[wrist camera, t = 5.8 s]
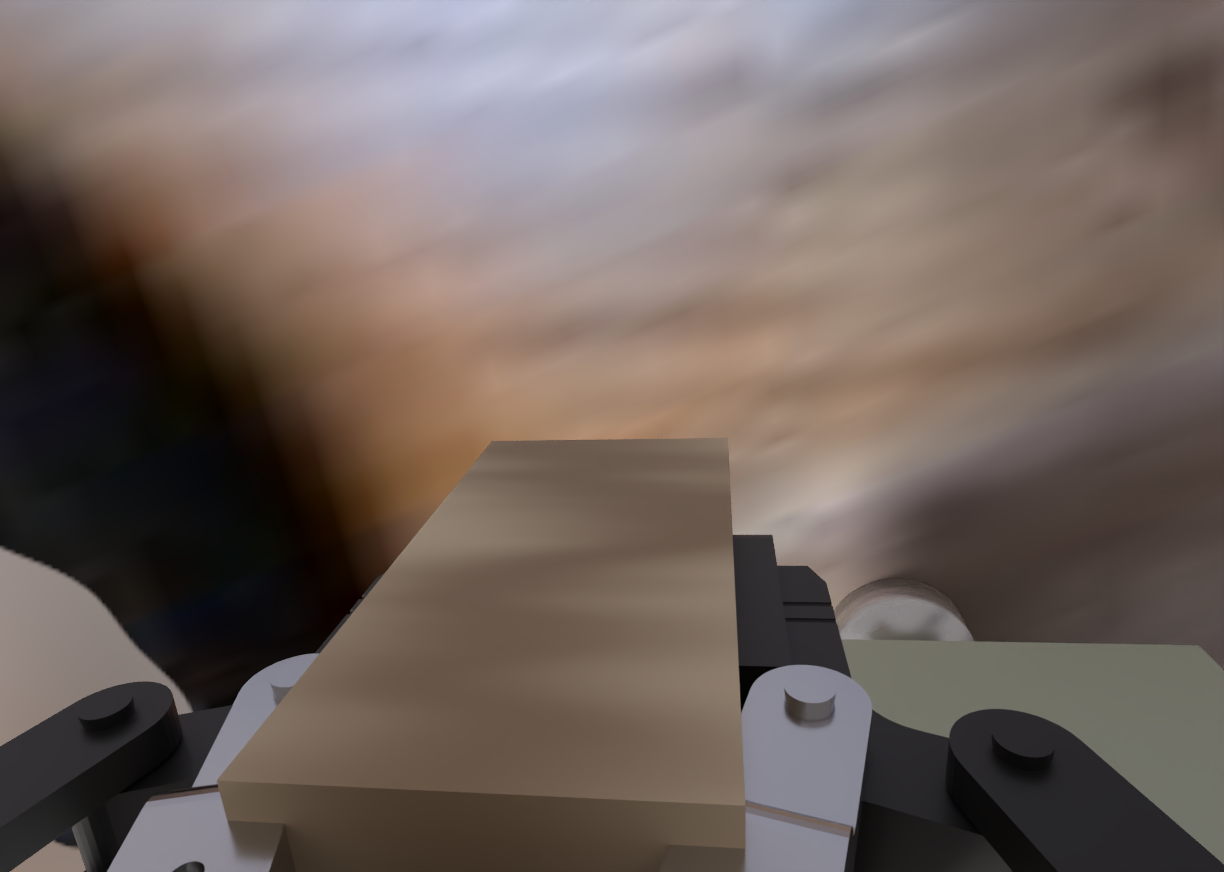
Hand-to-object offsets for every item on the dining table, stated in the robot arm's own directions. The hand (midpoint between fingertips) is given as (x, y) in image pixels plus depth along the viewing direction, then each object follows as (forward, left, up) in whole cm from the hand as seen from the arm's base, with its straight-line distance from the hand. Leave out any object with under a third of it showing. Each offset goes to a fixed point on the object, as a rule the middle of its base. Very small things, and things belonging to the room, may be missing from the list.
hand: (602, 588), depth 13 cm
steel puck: (-8, +11, -16) cm, 21 cm away
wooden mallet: (0, +5, -1) cm, 5 cm away
